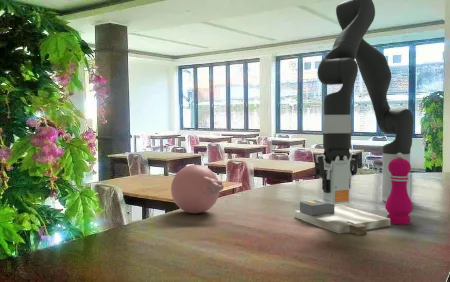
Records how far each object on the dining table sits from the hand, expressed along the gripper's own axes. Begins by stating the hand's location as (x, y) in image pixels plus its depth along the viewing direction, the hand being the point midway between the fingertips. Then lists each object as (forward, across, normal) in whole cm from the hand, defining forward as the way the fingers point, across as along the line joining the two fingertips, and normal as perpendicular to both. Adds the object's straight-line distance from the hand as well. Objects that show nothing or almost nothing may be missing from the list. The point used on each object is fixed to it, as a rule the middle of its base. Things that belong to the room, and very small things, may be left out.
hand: (336, 191), depth 117 cm
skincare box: (+3, 0, 0) cm, 3 cm away
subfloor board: (+10, -4, -1) cm, 10 cm away
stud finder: (+7, +1, -8) cm, 11 cm away
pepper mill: (+10, -18, +5) cm, 21 cm away
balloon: (+10, +29, -30) cm, 43 cm away
